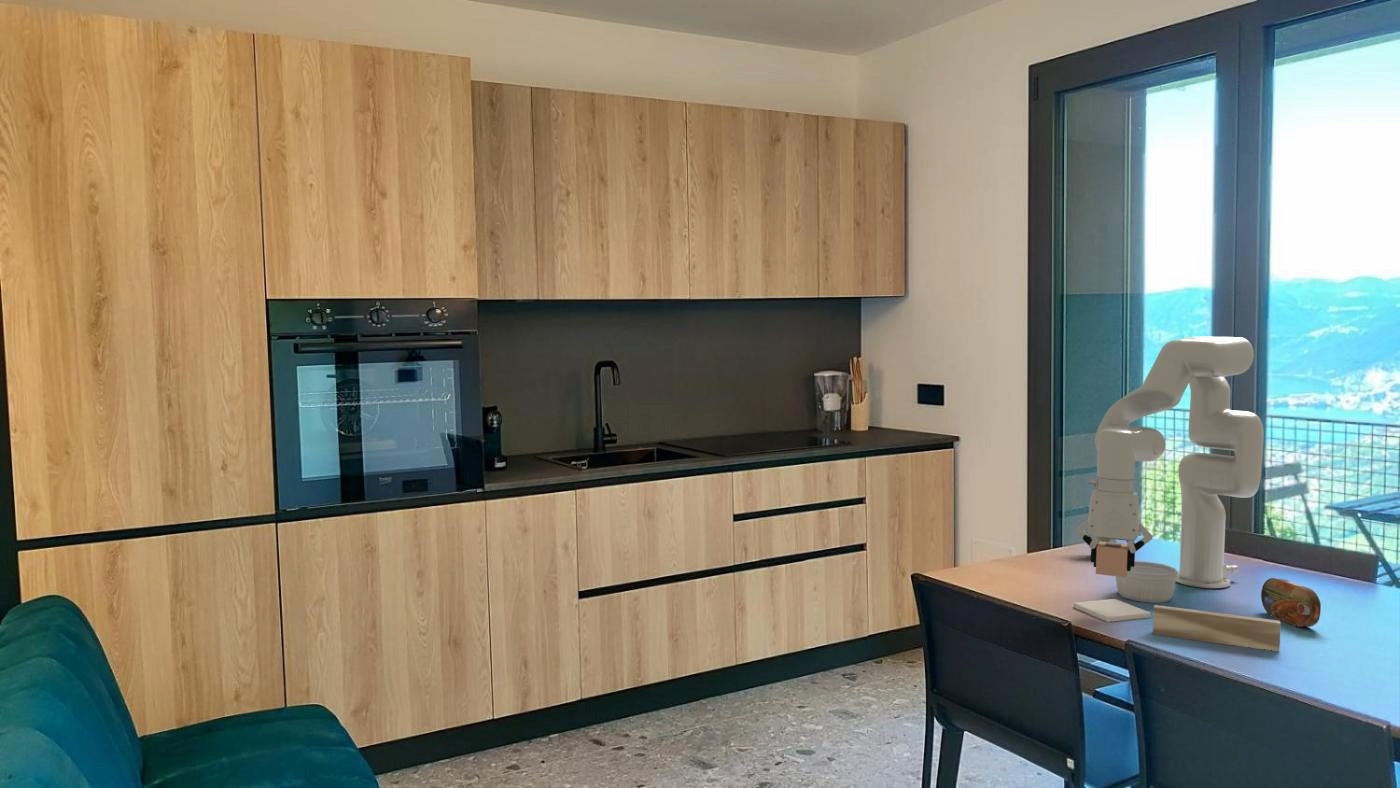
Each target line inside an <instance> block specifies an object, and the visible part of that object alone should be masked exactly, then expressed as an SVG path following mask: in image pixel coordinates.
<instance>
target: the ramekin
mask: <svg viewBox="0 0 1400 788" xmlns="http://www.w3.org/2000/svg"><path fill="white" fill-rule="evenodd" d="M1177 572H1178V570H1177V569H1176V568H1175V567H1173V566H1171V565H1167V564H1163V563H1158V562H1153V561H1152V562H1151V561H1143V560H1142V561H1141V560H1135V565H1134V567H1131V570H1130V571H1128V573H1127V576H1126V577H1118V576H1115V583H1116V590H1117V592H1118V593H1119V595H1120V596H1121V597H1123V598H1125V599H1128V600H1130V601H1134V602H1141V603H1150V604H1151V603H1152V604H1154V603H1155V604H1159V603H1162V604H1163V603H1165V602H1169V601H1170V600H1171V599H1173V597H1174V593H1175V587H1176V577H1177Z"/></svg>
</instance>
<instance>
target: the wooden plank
mask: <svg viewBox="0 0 1400 788" xmlns="http://www.w3.org/2000/svg"><path fill="white" fill-rule="evenodd" d="M1152 619H1153V620H1152V635H1157V636H1164V637H1165V636H1166V637H1171V638H1180V639H1185V640H1192V641H1201V642H1206V643H1215V644H1222V645H1228V646H1229V645H1230V646H1237V647H1243V648H1249V647H1250V648H1249V649H1258V650H1264V649H1265V650H1264V651H1271V650H1272V651H1273V652H1278V651H1279V652H1280V649H1281V648H1280V647H1281V646H1280V645H1281V644H1280V643H1281V625H1282V623H1281V620H1279V619H1277V620H1276V619H1268V618H1261V617H1255V616H1253V617H1251V616H1246V615H1245V616H1244V615H1237V614H1229V613H1220V612H1213V611H1203V610H1197V609H1188V608H1182V607H1181V608H1179V607H1174V606H1165V605H1157V604H1154V605H1153V618H1152Z"/></svg>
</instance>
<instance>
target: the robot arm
mask: <svg viewBox="0 0 1400 788" xmlns="http://www.w3.org/2000/svg"><path fill="white" fill-rule="evenodd" d="M1254 353H1255V352H1254V348H1253V346H1252V344H1251V342H1250V341H1249V340H1248V339H1246V338H1244V337H1240V336H1239V337H1238V336H1237V337H1235V336H1189V337H1183V338H1179V339H1173V340H1171V341H1167V342H1166V343H1165V344H1163V346H1162V347H1161V349H1160V351H1159V353H1158V354H1157V356H1156V359H1155V360H1154V363H1153V364H1152V366H1151V368H1150V370H1149V372H1148V374H1147V375H1146V377H1145V380H1144V381H1143V383H1142V385H1141V386H1140V387H1138V388H1136V389H1134V390H1132V391H1131V392H1129V393H1127V394H1126V395H1124V396H1123V397H1122V398H1120V399H1119V400H1117V401H1116V402H1115V403H1113V404H1112V405H1110V407H1109V408H1108V410H1107V411H1106V413H1105V414H1104V416H1103V418H1102V420H1101V422H1100V423H1099V426H1098V429H1097V430H1096V433H1095V439H1094V444H1095V448H1096V451H1097V459H1096V461H1097V462H1096V477H1094V478H1089V480H1088V481H1089V485H1090V486H1093V487H1095V489H1094V490H1092V492H1091V495H1090V501H1089V505H1088V516H1087V517H1088V518H1087V519H1086V520H1085V521H1084V522H1083V523H1081V524H1080V525H1079V526H1078V527H1076V528H1075V533H1076V534H1077V535H1078V536H1079V537H1080V538H1082V540H1083V541H1084V542H1085V543H1086V545H1088V546H1089V548H1090V563H1093V568H1096V554H1097V543H1098V541H1099V539H1100V538H1106V539H1115V540H1117V541H1125V543H1126V544H1127V545H1128V547H1129V550H1128V554H1127V571H1130V570H1131V567H1134V565H1135V561H1136V558H1135V557H1136V552H1137V551H1138V550H1141V548H1143V547H1144V546H1145V545H1146V544H1147V543H1149V542H1151V540H1153V539H1154V538H1153V535H1152V533H1150V531H1149V530H1147V528H1146V527H1144V525H1143V524H1142V523H1141V522H1140V521H1141V519H1140V517H1141V516H1140V515H1141V514H1140V502H1139V496H1138V493H1137V492H1135V481H1136V480H1135V476H1136V462H1147V463H1149V462H1153V461H1156V460H1158V459H1159V458H1160V457H1162V456H1163V454H1164V453H1165V450H1166V439H1165V437H1164V435H1163V433H1162V432H1160V431H1159V430H1158V429H1155V428H1152V427H1148V426H1147V427H1145V426H1136V425H1135V426H1134V425H1130V424H1131V423H1133V422H1134V421H1136V420H1138V419H1140V418H1144V417H1146V416H1150V415H1154V414H1158V413H1161V412H1164V411H1167V410H1171V409H1173V408H1175V407H1176V406H1177V405H1178V404H1179V403H1180V402H1181V399H1182V398H1183V395H1184V394H1185V391H1186V389H1187V387H1188V386H1189V388H1190V401H1189V402H1190V403H1189V416H1188V417H1189V418H1188V438H1189V441H1190V442H1191V443H1192V444H1193V445H1195V446H1197V447H1202V448H1205V449H1206V448H1208V449H1213V450H1214V449H1216V450H1223V451H1224V450H1228V451H1233V452H1234V455H1233V456H1232V455H1223V454H1219V453H1218V454H1217V453H1206V452H1193V453H1189V454H1186V455H1185V456H1184V457H1183V458H1181V460H1180V461H1179V464H1178V468H1177V469H1178V471H1177V472H1178V480H1179V481H1178V482H1179V486H1180V493H1181V515H1180V517H1181V518H1180V519H1181V521H1180V543H1179V545H1180V547H1179V571H1178V570H1177V577H1176V581H1175V583H1178V584H1181V585H1183V586H1184V585H1185V586H1188V587H1195V588H1201V589H1202V588H1203V589H1224V588H1228V587H1229V586H1230V585H1231V580H1230V578H1228V577H1227V575H1229V574H1237V573H1239V571H1240V569H1239V566H1238V565H1236V564H1232V565H1231V564H1230V565H1227V564H1226V563H1224V561H1225V541H1226V540H1225V539H1226V519H1227V517H1226V516H1227V515H1226V510H1225V506H1224V504H1223V502H1222V501H1221V499H1220V498H1219V496H1227V497H1233V498H1243V499H1245V498H1246V499H1247V498H1248V499H1249V498H1251V497H1254V496H1255V495H1256V494H1257V492H1258V491H1259V488H1260V484H1261V478H1262V477H1261V476H1262V467H1263V466H1262V465H1263V452H1264V440H1265V439H1264V437H1265V436H1264V435H1265V434H1264V433H1265V432H1264V425H1263V422H1262V420H1261V418H1260V417H1259V415H1258V414H1256V413H1254V412H1251V411H1247V410H1232V409H1231V393H1232V392H1231V387H1230V384H1229V382H1228V380H1227V379H1226V377H1233V376H1237V375H1241V374H1243V373H1245V372H1247V371H1248V370H1249V369H1250V368H1251V366H1252V364H1253V361H1254V359H1255V354H1254ZM1218 495H1219V496H1218ZM1086 529H1087V532H1088V533H1086V531H1085V530H1086ZM1140 534H1141V535H1142V536H1143V537H1142V538H1140V539H1139V540H1138V541H1137V542H1135V540H1137V539H1138V538H1139V535H1140Z"/></svg>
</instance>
